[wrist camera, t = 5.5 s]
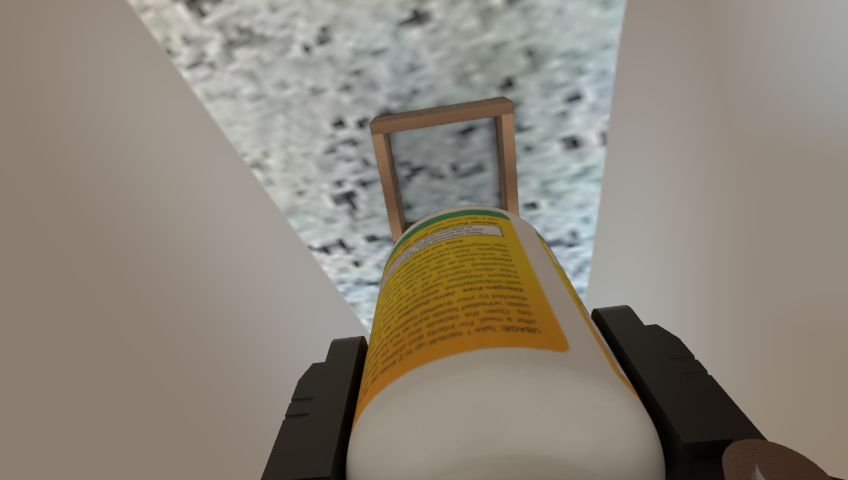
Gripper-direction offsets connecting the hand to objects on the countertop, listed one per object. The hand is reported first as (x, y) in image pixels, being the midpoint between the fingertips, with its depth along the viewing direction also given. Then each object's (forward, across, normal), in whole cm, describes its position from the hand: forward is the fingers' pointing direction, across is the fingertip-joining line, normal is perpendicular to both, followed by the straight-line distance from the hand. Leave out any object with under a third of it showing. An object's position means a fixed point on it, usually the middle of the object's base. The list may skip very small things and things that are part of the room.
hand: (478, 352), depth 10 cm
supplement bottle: (+4, 0, 0) cm, 4 cm away
